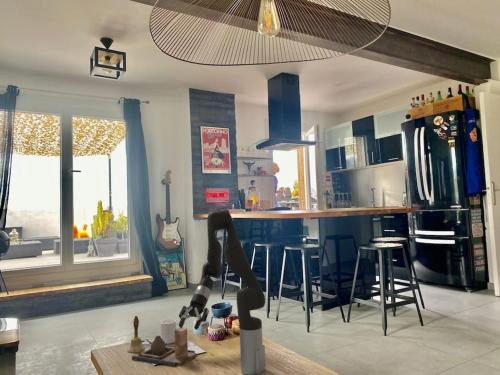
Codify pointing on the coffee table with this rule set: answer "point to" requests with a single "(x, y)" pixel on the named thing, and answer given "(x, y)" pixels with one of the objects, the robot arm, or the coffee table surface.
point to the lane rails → (156, 360)
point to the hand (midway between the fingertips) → (187, 327)
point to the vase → (158, 346)
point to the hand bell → (136, 339)
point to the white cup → (168, 331)
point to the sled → (175, 349)
